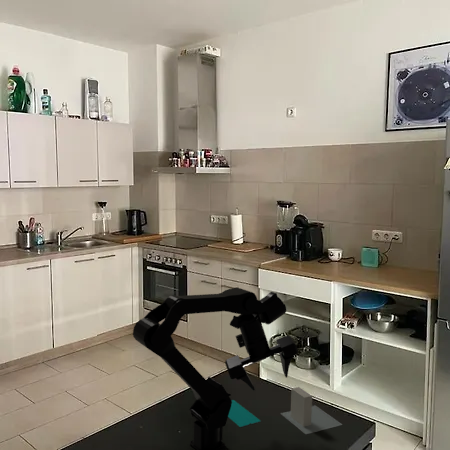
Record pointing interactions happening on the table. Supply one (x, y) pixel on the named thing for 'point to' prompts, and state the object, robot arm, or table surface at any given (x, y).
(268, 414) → the table surface
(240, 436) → the table surface
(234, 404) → the flat teal tile
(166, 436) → the table surface
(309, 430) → the mat
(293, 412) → the box
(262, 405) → the table surface
